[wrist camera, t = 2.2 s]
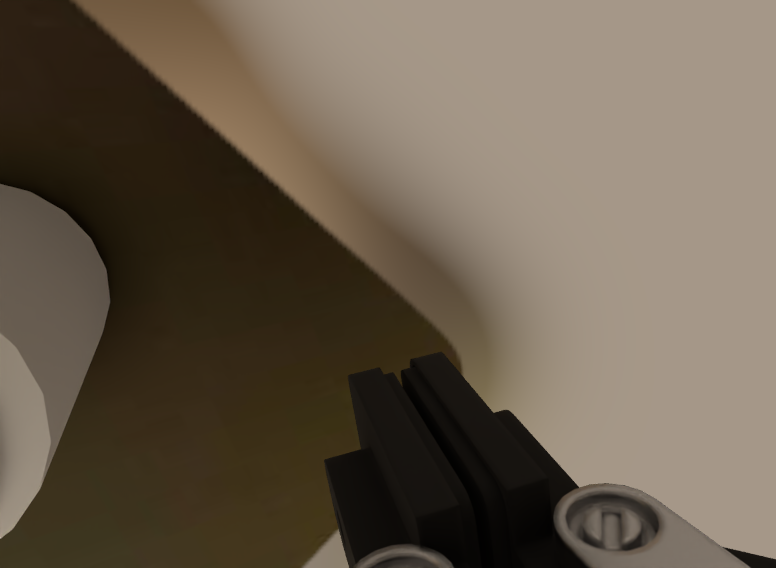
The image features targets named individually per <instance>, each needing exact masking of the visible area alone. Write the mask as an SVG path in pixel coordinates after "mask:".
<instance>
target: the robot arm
mask: <svg viewBox="0 0 776 568" xmlns="http://www.w3.org/2000/svg"><path fill="white" fill-rule="evenodd" d="M401 379H402V386H403V387H402V386H401V384H400V382H399V381H398V379H397V378H396V376H395V374H394V373H393V372H392V373H388V374H385V375H384V374H383V372H382V371H381V369H380V368H375V369H371V370H367V371H363V372H359V373H355V374H351V375H348V380H349V387H350V392H351V397H352V403H353V408H354V413H355V419H356V424H357V429H358V434H359V440H360V445H361V450H357V451H354V452H350V453H347V454H343V455H339V456H336V457H332V458H328V459H325V460H324V463H325V468H326V473H327V478H328V483H329V488H330V492H331V497H332V502H333V506H334V511H335V515H336V519H337V523H338V527H339V532H340V535H341V539H342V543H343V547H344V551H345V554H346V558H347V561H348V565H349V568H776V559H771V558H767V557H763V556H759V555H755V554H750V553H746V552H741V551H737V550H733V549H728V548H724V547H721V546H720V545H718V544H717V543H716V542H715V541H713V540H712V539H710V538H709V537H708V536H706V535H705V534H703V533H702V532H701V531H699V530H698V529H697V528H695V527H694V526H692V525H691V524H690V523H688V522H687V521H686V520H684V519H682V518H681V517H680V516H679V515H677V514H676V513H675V512H673V511H672V510H670V509H669V508H668V507H666V506H665V505H663V504H662V503H661V502H659V501H658V500H657V499H655V498H653V497H652V496H650V495H648V494H646V493H644V492H643V491H641V490H638V489H634V488H631V487H628V486H625V485H617V484H609V483H604V484H591V485H587V486H584V487H580V488H579V487H578V486H577V484H576V483H575V482H574V481H573V480H572V479H571V478H570V477H569V476H568V474H567V473H566V472H565V471H564V470H563V469H562V468H561V467H560V466H559V465H558V463H557V462H556V461H555V460H554V459H553V458H552V457H551V456H550V454H549V453H548V452H547V451H546V450H545V449H544V448H543V447H542V446H541V445H540V443H539V442H538V441H537V440H536V439H535V438H534V437H533V436H532V434H531V433H530V432H529V431H528V430H527V429H526V428H525V427H524V426H523V424H521V422H520V421H519V420H518V419H517V418H516V417H515V416H514V414H512V413H511V412H510V411H509V410H503V411H499V412H495V413H493V412H492V411H491V409H490V408H489V407H488V406H487V405H486V403H485V402H484V401H483V400H482V399H481V397H479V395H478V394H477V393H476V392H475V390H474V389H473V388H472V387H471V386H470V384H469V383H468V382H467V381H466V380H465V379H464V377H463V376H462V375H461V374H460V373H459V371H458V370H457V369H456V368H455V367H454V365H453V364H452V363H451V362H450V361H449V360H448V358H447V357H446V356H445V355H444V354H443V353H442V352H438V353H434V354H430V355H426V356H422V357H418V358H414V359H411V361H410V368H408V369H404V370H401Z"/></svg>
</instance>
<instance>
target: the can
mask: <svg viewBox="0 0 776 568" xmlns="http://www.w3.org/2000/svg"><path fill="white" fill-rule="evenodd" d="M109 305H110V295H109V287H108V279H107V271H106V268H105V266H104V264H103V262H102V260H101V258H100V256H99V254H98V252H97V250H96V248H95V246H94V244H93V241H92V239H91V238H90V237H89V236H88V235H87V234H86V233H85V232H84V231H83V230H82V229H81V228H80V227H79V226H78V224H77V223H76V222H75V221H74V220H73V219H72V218H71V217H70V216H69V215H68V214H67V213H66V212H65V211H63V210H61V209H60V208H58V207H56V206H54V205H53V204H51V203H49V202H47V201H46V200H44V199H42V198H40V197H39V196H37V195H35V194H33V193H32V192H30V191H26V190H22V189H18V188H14V187H10V186H6V185H2V184H0V538H2V537H3V536H4V535H6V534H7V533H8V532H9V531H11V530H12V529H13V528H14V526H15V525H16V523H17V522H18V520H19V519H20V518H21V516H22V515H23V513H24V512H25V510H26V509H27V507H28V506H29V504H30V503H31V501H32V500H33V498H34V497H35V495H36V494H37V493H38V491H39V490H40V488H41V485H42V483H43V480H44V478H45V475H46V473H47V470H48V468H49V465H50V463H51V460H52V458H53V455H54V453H55V450H56V448H57V445H58V443H59V440H60V438H61V435H62V433H63V430H64V428H65V425H66V423H67V420H68V418H69V416H70V413H71V411H72V408H73V406H74V403H75V401H76V398H77V396H78V393H79V391H80V388H81V386H82V383H83V381H84V378H85V376H86V373H87V371H88V368H89V366H90V363H91V361H92V358H93V356H94V353H95V351H96V348H97V346H98V343H99V341H100V338H101V336H102V333H103V330H104V326H105V321H106V317H107V313H108V309H109Z"/></svg>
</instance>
